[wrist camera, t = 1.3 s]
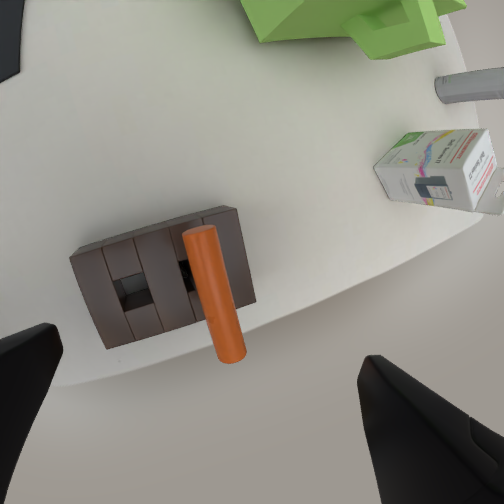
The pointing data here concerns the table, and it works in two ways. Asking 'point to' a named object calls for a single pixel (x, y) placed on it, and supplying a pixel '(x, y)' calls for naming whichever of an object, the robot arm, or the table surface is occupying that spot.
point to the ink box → (444, 171)
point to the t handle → (214, 291)
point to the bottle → (471, 86)
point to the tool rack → (156, 276)
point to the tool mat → (10, 37)
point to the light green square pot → (355, 22)
